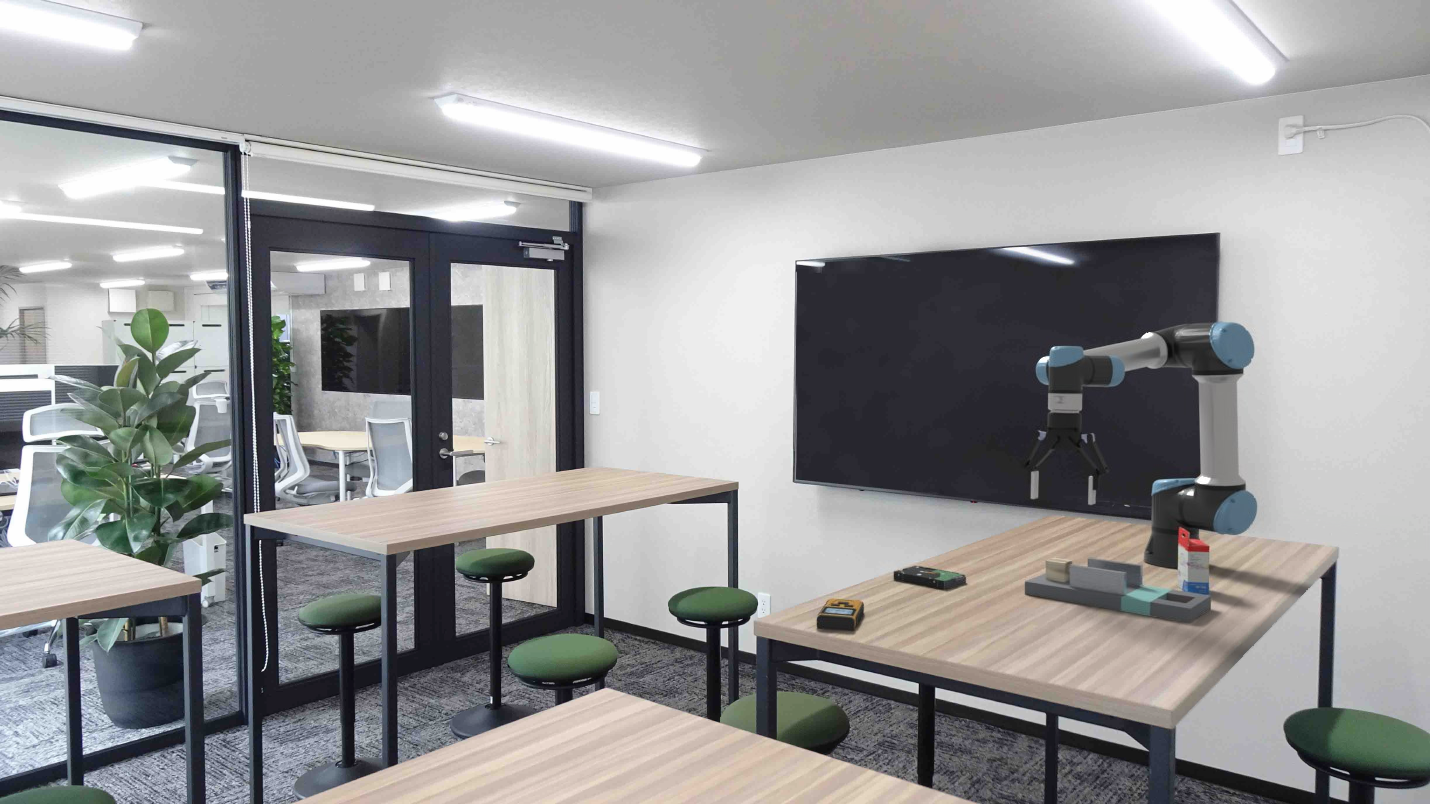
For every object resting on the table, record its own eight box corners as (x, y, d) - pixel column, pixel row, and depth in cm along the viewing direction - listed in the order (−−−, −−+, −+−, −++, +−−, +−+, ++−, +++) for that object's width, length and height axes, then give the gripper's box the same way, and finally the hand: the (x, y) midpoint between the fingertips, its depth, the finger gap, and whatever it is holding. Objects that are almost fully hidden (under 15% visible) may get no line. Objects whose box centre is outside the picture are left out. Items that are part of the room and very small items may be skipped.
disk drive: (892, 582, 233) (945, 591, 222) (892, 571, 233) (945, 580, 222) (914, 575, 240) (967, 584, 230) (914, 564, 240) (966, 573, 230)
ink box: (1209, 595, 217) (1211, 533, 216) (1186, 594, 218) (1188, 532, 217) (1198, 587, 225) (1199, 526, 225) (1176, 586, 226) (1177, 526, 226)
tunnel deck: (1051, 582, 229) (1051, 550, 229) (1210, 609, 205) (1211, 573, 205) (1024, 593, 218) (1025, 560, 218) (1190, 622, 194) (1190, 584, 194)
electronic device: (865, 614, 203) (865, 599, 203) (855, 633, 188) (855, 617, 188) (827, 611, 205) (827, 596, 205) (814, 629, 190) (814, 613, 190)
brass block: (1053, 576, 224) (1053, 557, 223) (1072, 579, 220) (1072, 560, 220) (1045, 579, 220) (1045, 560, 220) (1064, 582, 217) (1064, 563, 217)
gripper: (1007, 410, 224) (1005, 497, 225) (1114, 414, 208) (1111, 508, 209) (1020, 409, 230) (1018, 494, 231) (1125, 413, 214) (1122, 505, 215)
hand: (1062, 501), depth 220 cm, fingers open, 13 cm apart
